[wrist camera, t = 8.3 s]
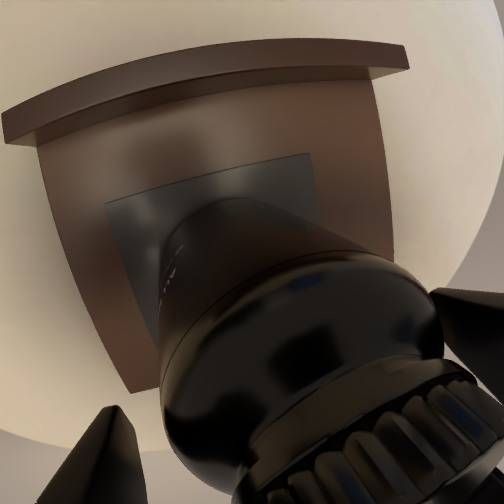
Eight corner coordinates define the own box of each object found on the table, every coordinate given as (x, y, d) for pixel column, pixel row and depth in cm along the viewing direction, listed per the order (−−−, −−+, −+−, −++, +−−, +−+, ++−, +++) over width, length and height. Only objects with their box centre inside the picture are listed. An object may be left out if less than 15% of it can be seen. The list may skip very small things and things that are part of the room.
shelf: (380, 293, 19) (427, 324, 14) (131, 377, 16) (128, 435, 11) (351, 65, 14) (404, 45, 10) (43, 125, 11) (-1, 113, 7)
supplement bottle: (128, 244, 12) (51, 573, 1) (274, 171, 13) (596, 234, 2) (204, 364, 15) (286, 603, 3) (324, 299, 15) (510, 462, 4)
